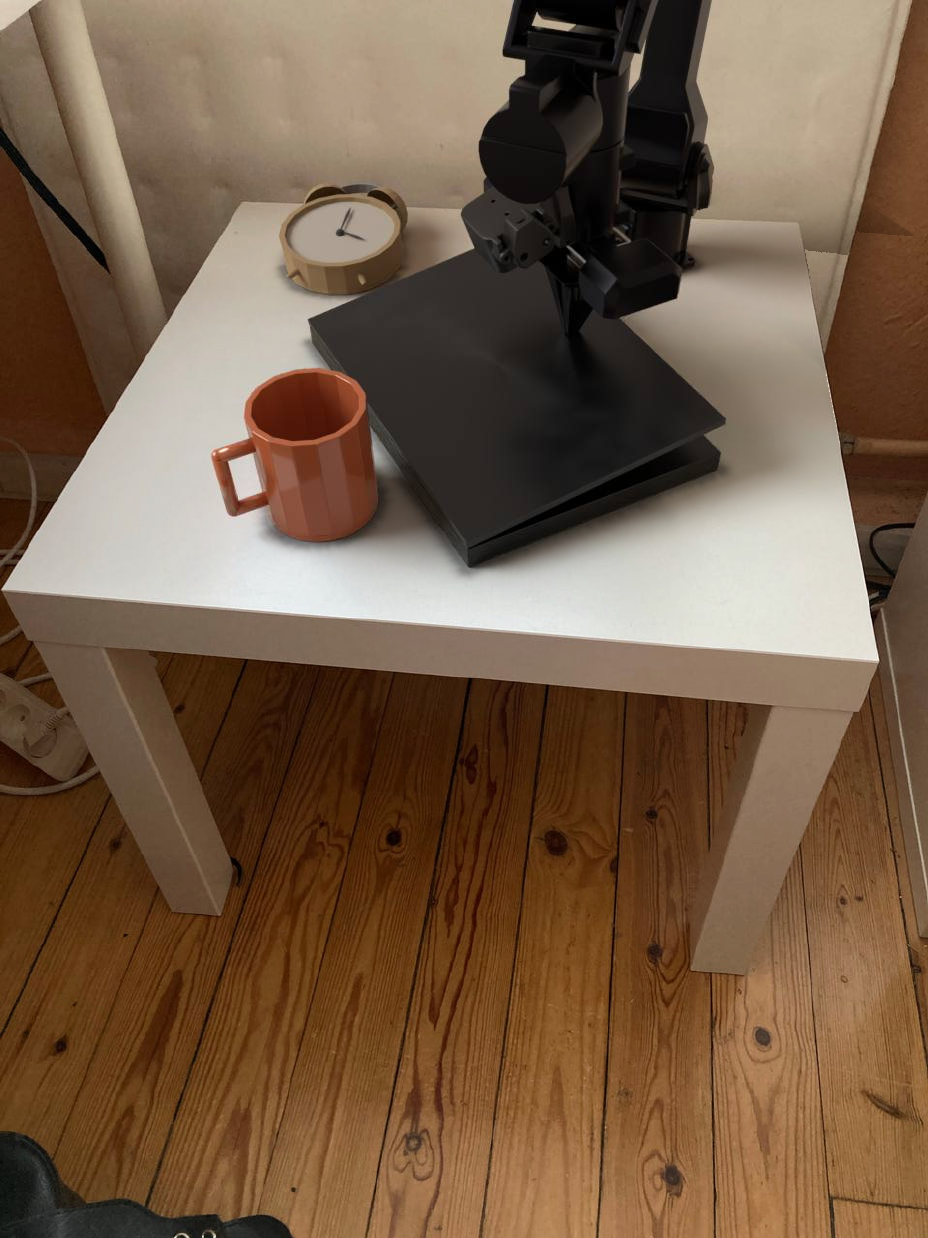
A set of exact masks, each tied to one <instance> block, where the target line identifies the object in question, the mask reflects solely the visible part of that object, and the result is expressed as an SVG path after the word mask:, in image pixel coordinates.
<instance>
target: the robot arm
mask: <svg viewBox="0 0 928 1238" xmlns="http://www.w3.org/2000/svg"><path fill="white" fill-rule="evenodd" d="M712 1H713V0H513V2H512V6H511V11H510V15H509V19H508V24H507V28H506V31H505V32H506V33H505V37H504V40H503V44H502V50H501V51H502V57H503V58H509V59H515V60H520V61H524V74H523V75H521V76H518V77H517V78H516V79H515V80H513V82H511V84H510V85H509V88H508V100H507V101H506V102H505V103H503V105H501V107H500V108H499V109H498V110H497V111H496V112H495V113H494V114H493V115H492V116H490V118H488V121H487V122H486V124H485V125H484V127H483V128H482V132H481V135H480V139H479V141H478V157H479V162H480V166H481V168H482V171H483V173H484V175H485V178H484V179H483V181H482V183H483V192H482V193H481V194H480V195H478V196H477V197H475V198H474V199H472V200H471V201H470V202H469V203H467V204H465V205H464V206H463V207H462V209H461V211H460V218H461V220H462V223H463V224H464V225H463V226H464V227H465V229H466V232H467V234H468V237H469V239H470V241H471V244H472V246H473V249H474V248H475V251H476V252H477V253H478V254H480V255H481V256H482V257H483V258H484V259H485V260H486V261H487V262H488V263H489V264H490V266H491V267H492V269H493V270H494V271H496V272H498V273H507V272H510V271H512V270H513V269H515V268H516V267H517V266H519V267H520V268H524V269H526V268H528V267H530V266H531V265H533V264H534V263H536V262H537V261H539V262H541V263H542V264H543V265H544V267H545V270H546V273H547V276H548V279H549V282H550V286H551V289H552V293H553V296H554V300H555V303H556V307H557V310H558V314H559V318H560V321H561V325H562V328H563V330H564V331H566V333H567V334H572V333H575V332H578V331H579V330H580V329H581V327H582V326H583V324H584V323H585V321H586V319H587V318H588V316H589V315H590V313H591V312H592V310H593V309H594V310H595V311H596V312H597V313H598V314H600V315H601V316H602V317H603V318H607V319H613V320H615V319H618V318H620V319H622V318H623V317H627V316H629V315H632V314H635V313H639V312H642V311H644V310H647V309H650V308H654V307H656V306H660V305H662V304H665V303H668V302H671V301H674V300H677V299H678V296H679V294H680V290H681V289H680V288H681V282H682V275H683V270H686V269H689V268H692V267H695V266H696V262H697V259H696V258H695V256H693V255H692V253H689V252H688V251H687V249H688V243H689V235H690V230H691V222H692V217H694V216H695V214H696V213H697V212H698V211H701V210H704V209H705V210H706V209H708V208H709V206H711V199H712V194H713V193H712V192H713V183H714V180H713V179H714V178H713V176H714V172H715V165H714V162H713V158H712V155H711V151H710V148H709V144H708V143H705V140H706V135H707V129H708V121H709V116H708V112H707V110H706V106H705V103H704V100H703V97H702V94H701V90H700V88H699V85H698V81H697V79H698V73H699V68H700V63H701V58H702V52H703V47H704V42H705V38H706V32H707V29H708V28H707V27H708V22H709V18H710V13H711V12H710V11H711V7H712V3H713V2H712ZM537 15H538V17H540V19H542V20H544V21H551V22H555V23H562V24H569V25H573V27H571V28H569V29H568V30H563V29H556V28H550V27H545V26H544V27H543V26H538V25H533V24H534V22H535V18H536V16H537ZM642 52H643V54H642ZM635 54H637V55H641V54H642V61H641V67H640V71H639V77H638V79H637V80H636V82H635V83H634V84H633V85H632V87H631V88H630V81H631V80H630V79H631V67H632V61H633V59H634V56H635Z"/></svg>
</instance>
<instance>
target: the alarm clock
mask: <svg viewBox="0 0 928 1238" xmlns="http://www.w3.org/2000/svg"><path fill="white" fill-rule="evenodd" d="M363 194H367V195H363ZM407 208H408V207H407V205H406V203H405V201H404V200H403V198H402V197H401V196H400V195H399V194H398V193H397V192H396V191H395V190H393V189H391V188H388V187H385V186H382V185H380V184H377V183H371V182H353V183H352V182H351V183H347V184H344V185H341V186H339V185H337V184H334V183H329V182H327V183H321V184H317V185H315V186H313V188H311V189H310V190H309V192H308V193H307V194H306V196H305V198H304V201H303V204H302V205H300V206H299V207H297V208H296V209H294V210H293V211H292V212H290V213H289V214H288V216H287V217H286V218H285V219H284V221H283V222H282V224H281V225H280V230H279V235H278V238H279V241H280V245H281V249H282V253H283V258H284V265H285V268H286V271H287V274H286V276H285V278H286V279H287V280H288V281H290V280H293V282H294V283H295V284H296V285H297V286H299V287H302V288H304V289H306V290H307V291H310V292H313V293H317V294H323V295H328V296H337V295H338V296H339V295H344V296H345V295H346V296H347V295H352V294H356V293H360V292H361V293H363V292H366V291H368V290H370V289H373V288H376V287H377V286H380V285H382V284H384V283H385V282H386V281H388V280H389V279H390V278H392V276H394V275H395V274H396V273H397V271H398V269H399V268H400V266H401V265H402V264H403V260H404V259H403V258H404V252H405V250H404V246H403V238H402V233H403V232H404V231H405V230H406V227H407V224H408V221H409V212H408V209H407Z"/></svg>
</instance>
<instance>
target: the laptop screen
mask: <svg viewBox="0 0 928 1238" xmlns="http://www.w3.org/2000/svg"><path fill="white" fill-rule="evenodd" d="M307 322H308V325H309V328H310V327H311V328H312V329H313V331H314V332H315V334H316V335H317V336H318V338H319V339H320V341H321V342H322V344H323V345H324V346H325V348H326V349H327V351H328V352H329V353H330V355H331V356H332V358H333V359H334V361H335V362H336V363H337V365H338V366H339V368H340V369H341V370H342V372H343V373H344V374H345V375H347V376H348V377H350V378H352V379H354V380H356V381H357V382H358V384H359V385H360V386H361V388H362V389H363V391H364V392H365V393H366V398H367V406H368V409H369V410H370V411H371V413H372V414H373V416H374V417H375V418H376V420H377V421H378V423H379V424H380V426H381V427H382V428H383V430H384V431H385V433H386V434H387V435H388V437H389V438H390V440H391V441H392V443H393V444H394V445H395V447H396V448H397V450H398V451H399V452H400V454H401V455H402V457H403V458H404V460H405V461H406V462H407V464H408V465H409V467H410V468H411V469H412V471H413V472H414V474H415V475H416V476H417V478H418V479H419V481H420V482H421V484H422V485H423V486H424V488H425V489H426V491H427V492H428V493H429V495H430V496H431V498H432V499H433V501H434V502H435V503H436V505H437V506H438V508H439V509H440V510H441V512H442V513H443V515H444V516H445V517H446V519H447V520H448V522H449V523H450V525H451V526H452V527H453V529H454V530H455V532H456V533H457V534H458V536H459V537H460V539H461V540H462V542H463V543H464V544H465V546H466V547H467V548H470V547H472V546H474V545H476V544H478V543H480V542H483V541H485V540H487V539H489V538H491V537H493V536H495V535H497V534H499V533H501V532H503V531H505V530H507V529H509V528H512V527H514V526H516V525H518V524H520V523H522V522H524V521H526V520H528V519H530V518H532V517H534V516H536V515H539V514H541V513H543V512H545V511H547V510H549V509H551V508H553V507H555V506H557V505H559V504H561V503H563V502H565V501H568V500H570V499H572V498H574V497H576V496H578V495H580V494H582V493H584V492H586V491H588V490H590V489H592V488H595V487H597V486H599V485H601V484H603V483H605V482H607V481H609V480H611V479H613V478H615V477H617V476H619V475H621V474H624V473H626V472H628V471H630V470H632V469H634V468H636V467H638V466H640V465H642V464H644V463H646V462H648V461H651V460H653V459H655V458H657V457H659V456H661V455H663V454H665V453H667V452H669V451H671V450H673V449H675V448H677V447H680V446H682V445H684V444H686V443H688V442H690V441H692V440H694V439H696V438H698V437H700V436H702V435H704V436H705V435H706V434H708V433H711V432H713V431H714V430H717V429H719V428H721V427H723V426H725V425H727V418H726V416H724V415H723V414H722V413H721V411H719V410H718V409H717V408H716V407H714V406H713V404H712V403H710V402H709V401H708V400H707V399H706V398H705V397H704V396H703V395H702V394H701V393H699V391H697V389H695V387H694V386H693V385H691V384H690V383H689V381H687V380H686V379H685V378H684V377H683V376H682V375H680V373H678V371H676V370H675V369H674V368H673V367H672V365H670V364H669V363H668V362H667V361H666V360H665V359H664V358H662V356H660V354H658V353H657V352H656V351H655V350H654V349H653V348H652V347H651V346H650V345H649V344H648V343H647V342H645V340H643V338H641V337H640V335H638V333H636V332H635V331H634V330H633V329H632V328H631V327H630V326H629V325H628V324H626V323H625V321H624V320H622V318H618V319H615V320H613V319H607V318H603V317H602V316H601V315H600V314H598V313H597V312H596V311H595V310H594V309H593V310H592V312H591V313H590V315H589V316H588V318H587V319H586V321H585V323H584V324H583V326H582V327H581V329H580V330H579V331H578V332H575V333H572V334H567V333H566V331H564V330H563V328H562V325H561V321H560V318H559V314H558V310H557V307H556V303H555V300H554V296H553V293H552V289H551V286H550V282H549V279H548V276H547V273H546V270H545V267H544V265H543V264H542V263H541V262H539V261H537V262H536V263H534V264H533V265H531V266H530V267H528V268H526V269H524V268H520V267H519V266H517V267H516V268H515V269H513V270H512V271H510V272H507V273H498V272H496V271H494V270H493V269H492V267H491V266H490V264H489V263H488V262H487V261H486V260H485V259H484V258H483V257H482V256H481V255H480V254H478V253H477V252H476V251H475V248H474V247H473V248H471V249H469V250H467V251H464V252H462V253H460V254H457V255H455V256H453V257H450V258H448V259H445V260H443V261H441V262H438V263H436V264H434V265H431V266H429V267H427V268H424V269H422V270H420V271H418V272H414V273H413V274H409V275H408V276H405V277H403V278H400V279H399V280H396V281H394V282H391V283H389V284H386V285H384V286H382V287H380V288H377V289H374V290H372V291H370V292H367V293H366V294H364V295H363V294H362V295H360V296H359V297H356V298H354V299H351V300H349V301H346V302H345V303H342V304H341V305H340V304H339V305H337V306H335V307H333V308H330V309H328V310H326V311H323V312H321V313H319V314H316V315H314V316H312V317H309V318H307Z"/></svg>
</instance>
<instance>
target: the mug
mask: <svg viewBox="0 0 928 1238" xmlns="http://www.w3.org/2000/svg"><path fill="white" fill-rule="evenodd" d="M243 420H244V423H245V429H246V431H247V436H248V438H246V439H243V440H240V441H236V442H233V443H231V444H228V445H224V446H221V447H218V448H216V449H214V450H213V451H212V452H211V454H210V458H211V459H210V460H211V462H212V465H213V469H214V472H215V476H216V479H217V482H218V486H219V490H220V494H221V496H222V500H223V503H224V507H225V510H226V513H227V515H229V516H230V517H232V518H235V517H239V516H241V515H244V514H247V513H251V512H252V511H255V510H259V509H262V508H264V507H265V508H266V511H267V514H268V517H269V520H270V521H271V522H272V524H273V525H274V527H275V528H276V529H277V530H279V531H280V532H281V533H283V534H284V535H285V536H288V537H290V538H292V539H295V540H299V541H303V542H310V543H311V542H312V543H323V542H331V541H336V540H339V539H342V538H345V537H348V536H350V535H352V534H353V533H355V532H357V531H359V530H360V529H362V528H363V527H365V525H367V524H368V523H369V521H370V520H372V518H373V516H374V515H375V513H376V511H377V508H378V505H379V498H380V497H379V489H378V488H379V487H378V478H377V477H378V476H377V470H376V463H375V454H374V453H375V452H374V446H373V445H374V444H373V437H372V429H371V427H370V422H369V414H368V406H367V398H366V393H365V392H364V391H363V389H362V388H361V386H360V385H359V384H358V382H357V381H356V380H354V379H352V378H350V377H348V376H347V375H345V374H343V373H341V372H338V371H333V370H331V369H326V368H321V367H313V368H312V367H311V368H297V369H292V370H289V371H286V372H283V373H280V374H276V375H274V376H272V377H270V378H269V379H267V380H265V381H263V382H262V383H261V384H260V385H258V386H256V387H255V388H254V390H253V391H252V392H251V394H250V395H249V397H248V398H247V399H246V400H245V403H244V412H243ZM251 454H252V456H253V461H254V464H255V465H254V466H255V469H256V472H257V473H256V474H257V476H258V481H259V484H260V489H261V492H259V493H256V494H252V495H250V496H247V497H245V498H241V499H239V497H238V493H237V490H236V489H237V488H236V485H235V482H234V479H233V475H232V471H231V468H230V464H229V462H230V461H234V460H237V459H239V458H242V457H245V456H248V455H251Z"/></svg>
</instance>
